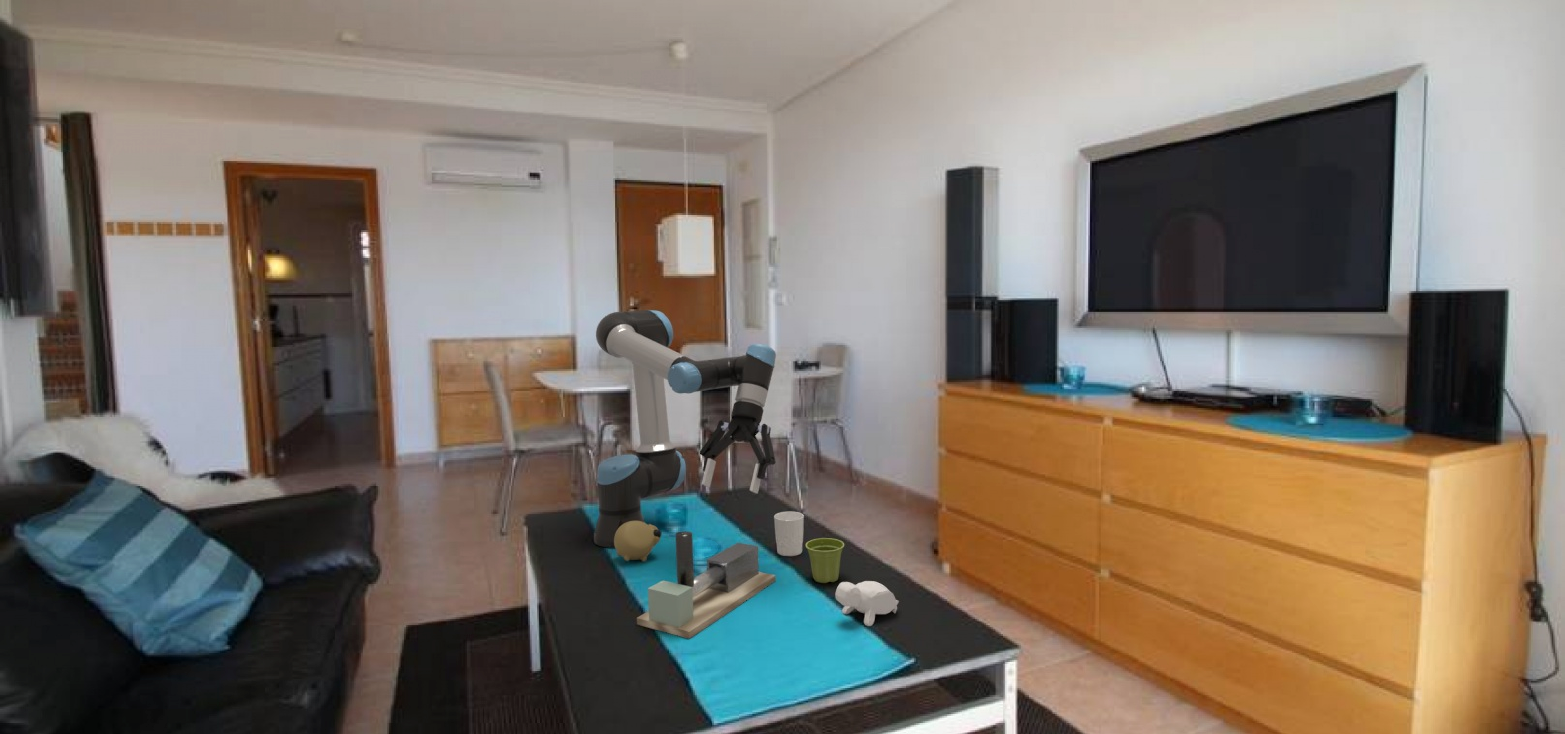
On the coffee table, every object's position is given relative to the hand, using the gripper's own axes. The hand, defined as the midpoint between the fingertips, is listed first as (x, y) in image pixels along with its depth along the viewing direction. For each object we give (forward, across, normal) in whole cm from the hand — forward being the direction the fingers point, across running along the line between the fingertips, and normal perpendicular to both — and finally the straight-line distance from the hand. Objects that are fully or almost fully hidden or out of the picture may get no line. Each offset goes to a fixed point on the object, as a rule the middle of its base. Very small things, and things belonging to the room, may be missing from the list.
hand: (729, 489), depth 182 cm
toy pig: (+19, +31, -14) cm, 39 cm away
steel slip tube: (+25, -1, +4) cm, 25 cm away
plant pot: (+15, -19, -22) cm, 33 cm away
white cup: (+9, -2, -33) cm, 34 cm away
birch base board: (+26, -1, -1) cm, 26 cm away
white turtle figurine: (+22, -36, -9) cm, 43 cm away
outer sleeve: (+20, -2, -9) cm, 22 cm away
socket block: (+31, -1, +12) cm, 33 cm away
